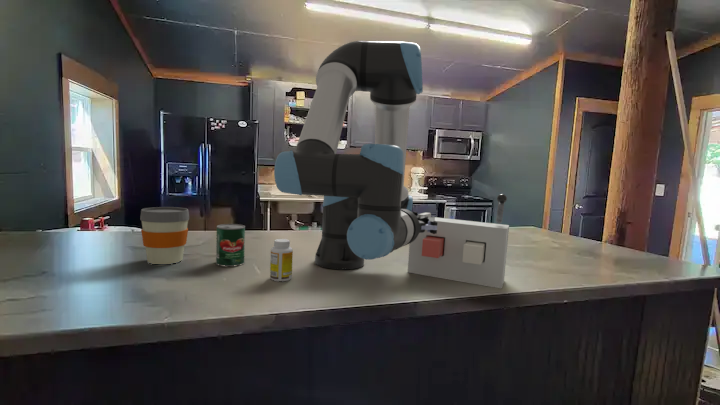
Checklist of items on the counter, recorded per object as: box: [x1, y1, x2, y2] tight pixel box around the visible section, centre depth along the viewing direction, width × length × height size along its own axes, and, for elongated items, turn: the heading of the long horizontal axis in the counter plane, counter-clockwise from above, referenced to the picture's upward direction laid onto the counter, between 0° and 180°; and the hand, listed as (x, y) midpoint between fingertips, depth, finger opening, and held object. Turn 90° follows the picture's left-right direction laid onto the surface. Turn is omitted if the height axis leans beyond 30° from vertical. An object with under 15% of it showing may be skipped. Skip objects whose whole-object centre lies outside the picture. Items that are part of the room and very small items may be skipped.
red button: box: [422, 236, 445, 258], centre depth 107 cm, size 5×6×5 cm
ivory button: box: [462, 241, 485, 265], centre depth 103 cm, size 5×6×5 cm
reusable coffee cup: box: [139, 206, 190, 265], centre depth 111 cm, size 13×12×15 cm
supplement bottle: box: [269, 238, 294, 282], centre depth 100 cm, size 6×6×10 cm
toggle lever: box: [495, 193, 508, 224], centre depth 107 cm, size 3×3×9 cm
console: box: [407, 216, 510, 289], centre depth 110 cm, size 26×8×16 cm, turn 65°
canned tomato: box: [215, 223, 246, 267], centre depth 112 cm, size 8×8×11 cm
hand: (427, 218), depth 98 cm, fingers closed
